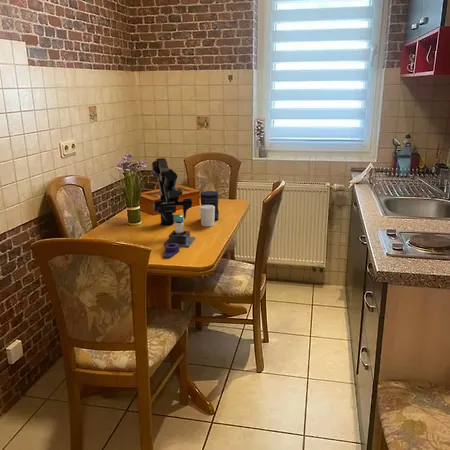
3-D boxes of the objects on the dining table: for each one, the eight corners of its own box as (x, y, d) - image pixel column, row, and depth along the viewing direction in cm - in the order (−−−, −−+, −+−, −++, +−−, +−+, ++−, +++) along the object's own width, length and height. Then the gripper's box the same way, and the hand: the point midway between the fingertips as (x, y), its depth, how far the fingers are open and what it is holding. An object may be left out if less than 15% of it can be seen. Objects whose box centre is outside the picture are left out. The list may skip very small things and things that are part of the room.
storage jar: (219, 217, 258) (219, 191, 254) (217, 222, 249) (217, 195, 244) (202, 216, 259) (201, 191, 255) (199, 221, 250) (198, 195, 245)
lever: (167, 249, 209) (167, 242, 208) (181, 250, 208) (180, 243, 207) (158, 258, 198) (158, 251, 197) (172, 259, 196) (172, 252, 195)
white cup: (217, 223, 247) (216, 205, 244) (212, 227, 240) (212, 208, 237) (203, 222, 249) (202, 204, 246) (198, 226, 242) (197, 207, 239)
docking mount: (163, 245, 213) (163, 236, 211) (171, 237, 224) (170, 228, 223) (188, 247, 210) (188, 237, 209) (195, 238, 222) (194, 229, 220)
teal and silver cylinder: (173, 240, 216) (172, 216, 213) (178, 238, 220) (177, 214, 216) (180, 242, 214) (179, 217, 211) (185, 239, 218) (184, 215, 214)
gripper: (152, 184, 219) (157, 212, 212) (190, 181, 224) (196, 209, 218) (151, 197, 229) (155, 224, 222) (187, 194, 234) (193, 220, 227)
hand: (175, 219), depth 222 cm, fingers open, 9 cm apart
